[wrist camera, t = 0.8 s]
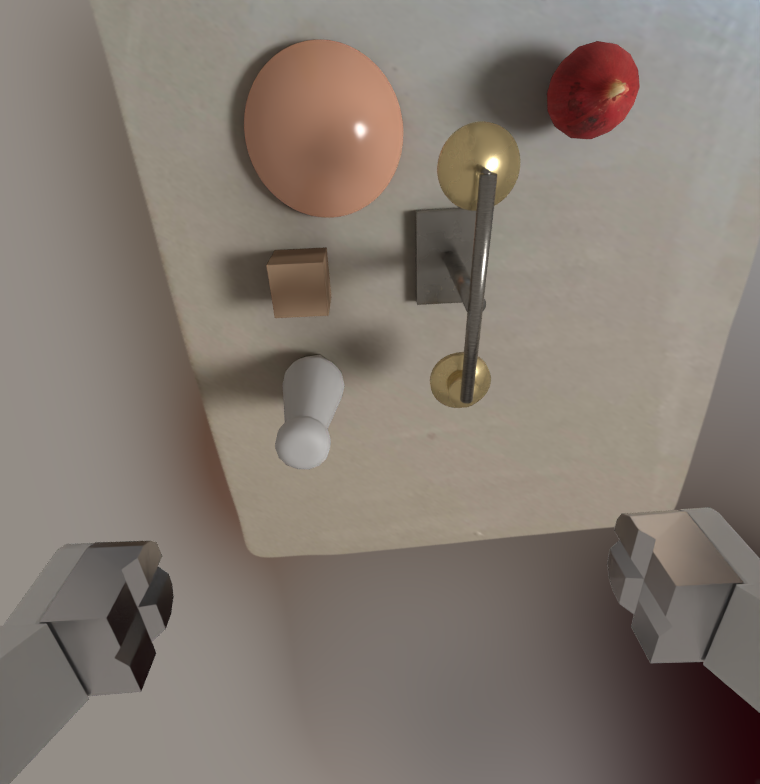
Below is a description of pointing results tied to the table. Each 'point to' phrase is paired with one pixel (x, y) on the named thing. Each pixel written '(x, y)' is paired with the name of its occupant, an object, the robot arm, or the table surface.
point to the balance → (464, 247)
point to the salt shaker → (308, 411)
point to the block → (299, 282)
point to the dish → (323, 128)
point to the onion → (592, 90)
